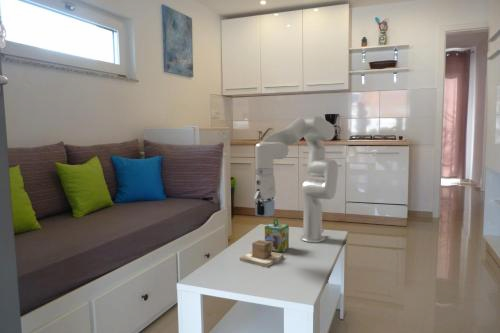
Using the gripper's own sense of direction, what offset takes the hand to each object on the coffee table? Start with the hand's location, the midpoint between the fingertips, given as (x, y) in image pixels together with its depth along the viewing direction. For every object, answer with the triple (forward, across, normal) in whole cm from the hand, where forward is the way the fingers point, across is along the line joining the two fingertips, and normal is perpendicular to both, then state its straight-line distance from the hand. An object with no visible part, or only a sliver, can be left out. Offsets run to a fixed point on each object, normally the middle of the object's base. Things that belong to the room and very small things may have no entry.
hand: (264, 213), depth 159 cm
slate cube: (+1, 0, 0) cm, 1 cm away
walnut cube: (+20, +1, +2) cm, 20 cm away
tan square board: (+21, +1, +2) cm, 21 cm away
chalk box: (+22, +17, +4) cm, 28 cm away
